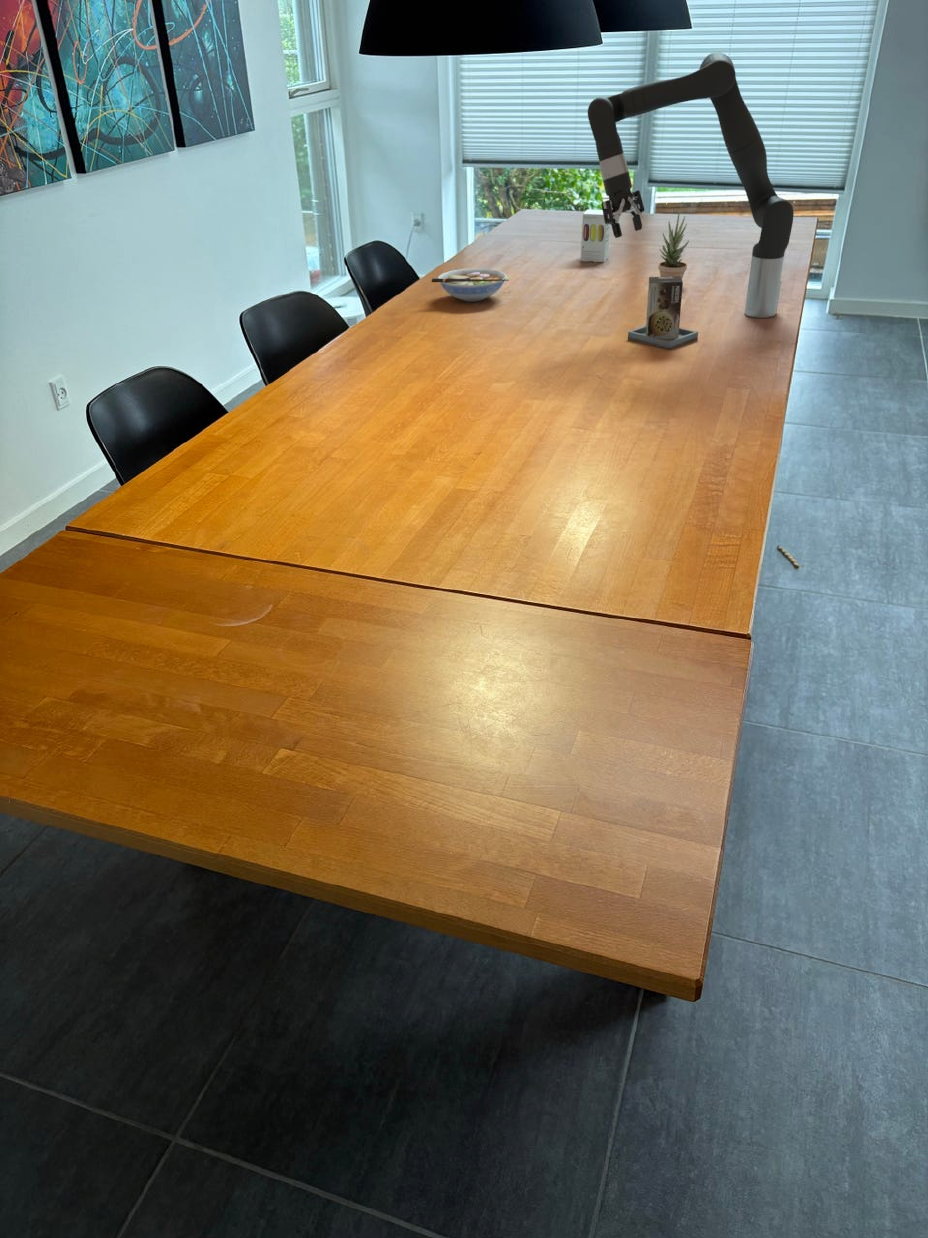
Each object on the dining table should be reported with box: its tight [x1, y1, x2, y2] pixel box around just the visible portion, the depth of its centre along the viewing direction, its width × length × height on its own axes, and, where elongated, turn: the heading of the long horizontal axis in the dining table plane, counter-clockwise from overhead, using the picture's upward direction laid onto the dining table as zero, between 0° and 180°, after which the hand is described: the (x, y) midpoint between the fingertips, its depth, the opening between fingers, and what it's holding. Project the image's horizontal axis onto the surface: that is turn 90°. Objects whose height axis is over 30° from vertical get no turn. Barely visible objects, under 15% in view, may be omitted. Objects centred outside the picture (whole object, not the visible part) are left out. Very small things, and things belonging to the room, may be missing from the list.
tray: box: [627, 325, 699, 351], centre depth 270 cm, size 13×15×2 cm
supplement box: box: [580, 208, 611, 263], centre depth 351 cm, size 10×9×17 cm
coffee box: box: [645, 276, 684, 339], centre depth 266 cm, size 9×6×16 cm
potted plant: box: [657, 208, 690, 279], centre depth 313 cm, size 10×10×25 cm
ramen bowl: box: [431, 267, 510, 303], centre depth 312 cm, size 25×23×8 cm
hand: (628, 233), depth 272 cm, fingers open, 8 cm apart
